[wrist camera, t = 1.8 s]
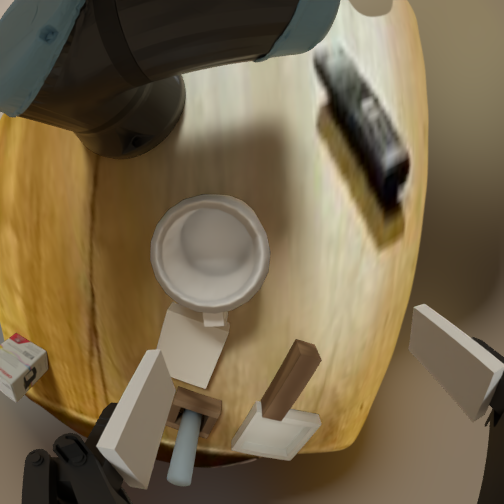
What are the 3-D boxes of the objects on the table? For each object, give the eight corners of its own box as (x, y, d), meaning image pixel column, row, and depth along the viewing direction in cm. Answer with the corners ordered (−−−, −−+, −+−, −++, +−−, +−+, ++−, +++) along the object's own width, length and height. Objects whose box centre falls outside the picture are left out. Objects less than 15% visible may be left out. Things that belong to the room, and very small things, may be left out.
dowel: (182, 410, 39) (164, 481, 24) (187, 398, 38) (169, 472, 24) (200, 416, 39) (187, 488, 24) (205, 405, 38) (193, 479, 24)
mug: (266, 300, 35) (274, 342, 25) (186, 304, 35) (165, 346, 25) (260, 191, 32) (267, 189, 22) (174, 198, 32) (144, 200, 22)
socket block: (168, 413, 39) (164, 425, 36) (178, 386, 38) (174, 398, 35) (208, 426, 40) (206, 438, 37) (221, 400, 38) (220, 413, 35)
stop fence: (261, 399, 38) (262, 417, 34) (295, 339, 36) (301, 354, 32) (278, 404, 39) (281, 421, 35) (314, 344, 37) (321, 360, 33)
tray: (231, 440, 40) (231, 450, 38) (256, 400, 38) (256, 411, 36) (288, 451, 42) (289, 460, 39) (318, 414, 40) (321, 424, 37)
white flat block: (156, 358, 37) (151, 369, 34) (173, 300, 35) (167, 309, 32) (208, 376, 38) (205, 389, 35) (230, 321, 36) (229, 332, 33)
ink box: (18, 351, 37) (-15, 379, 25) (15, 331, 36) (-21, 358, 24) (49, 370, 37) (16, 405, 26) (46, 350, 37) (10, 384, 25)
